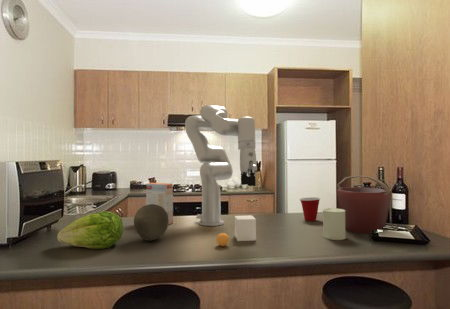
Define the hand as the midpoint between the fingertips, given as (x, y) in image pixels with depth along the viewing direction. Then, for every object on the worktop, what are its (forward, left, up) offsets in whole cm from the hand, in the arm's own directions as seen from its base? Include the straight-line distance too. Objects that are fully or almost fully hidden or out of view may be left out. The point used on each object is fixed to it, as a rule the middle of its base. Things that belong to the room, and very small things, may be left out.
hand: (248, 185), depth 132 cm
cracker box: (-52, +3, -22) cm, 57 cm away
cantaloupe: (-33, -24, -22) cm, 47 cm away
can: (+33, +16, -22) cm, 43 cm away
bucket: (+43, +36, -22) cm, 60 cm away
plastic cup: (+16, +45, -22) cm, 53 cm away
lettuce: (-49, -41, -23) cm, 68 cm away
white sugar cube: (0, -3, -22) cm, 22 cm away
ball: (-3, -17, -20) cm, 26 cm away
